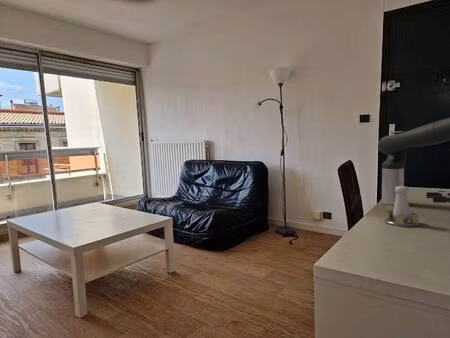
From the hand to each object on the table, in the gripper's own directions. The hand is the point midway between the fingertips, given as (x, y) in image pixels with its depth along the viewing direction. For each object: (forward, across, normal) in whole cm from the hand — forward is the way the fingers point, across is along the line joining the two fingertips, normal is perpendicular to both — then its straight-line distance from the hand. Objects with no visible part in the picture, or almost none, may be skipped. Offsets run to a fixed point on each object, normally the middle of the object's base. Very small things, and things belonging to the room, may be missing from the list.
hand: (429, 197), depth 108 cm
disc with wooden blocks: (+9, 0, +10) cm, 13 cm away
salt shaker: (+9, 0, +9) cm, 13 cm away
